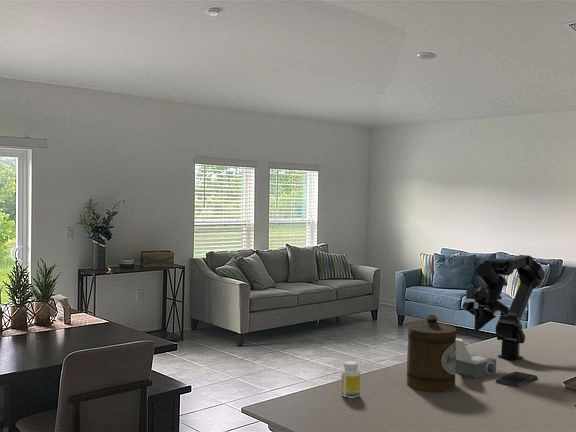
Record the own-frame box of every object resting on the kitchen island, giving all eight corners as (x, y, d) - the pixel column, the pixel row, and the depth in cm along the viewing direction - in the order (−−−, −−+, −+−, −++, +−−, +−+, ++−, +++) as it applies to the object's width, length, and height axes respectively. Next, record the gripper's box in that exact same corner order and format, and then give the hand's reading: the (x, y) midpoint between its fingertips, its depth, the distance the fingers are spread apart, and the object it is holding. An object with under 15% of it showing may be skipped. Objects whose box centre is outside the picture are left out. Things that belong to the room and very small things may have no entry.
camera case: (474, 367, 214) (475, 353, 214) (497, 373, 207) (497, 359, 207) (454, 372, 208) (454, 358, 208) (476, 378, 200) (476, 364, 200)
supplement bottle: (363, 396, 182) (363, 363, 181) (350, 400, 178) (351, 366, 178) (350, 391, 186) (350, 359, 185) (337, 395, 182) (337, 362, 182)
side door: (444, 335, 204) (443, 337, 203) (463, 339, 198) (461, 341, 197) (456, 358, 207) (454, 360, 207) (474, 363, 201) (473, 365, 201)
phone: (538, 376, 201) (517, 385, 191) (538, 379, 201) (517, 389, 191) (515, 371, 207) (493, 379, 196) (515, 374, 207) (493, 383, 196)
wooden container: (456, 393, 184) (458, 320, 184) (406, 390, 187) (407, 318, 187) (453, 379, 199) (454, 311, 198) (406, 376, 202) (407, 309, 201)
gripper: (459, 280, 224) (442, 318, 219) (492, 277, 207) (475, 319, 202) (482, 295, 226) (466, 333, 222) (517, 294, 209) (500, 335, 205)
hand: (476, 330), depth 213 cm, fingers closed
